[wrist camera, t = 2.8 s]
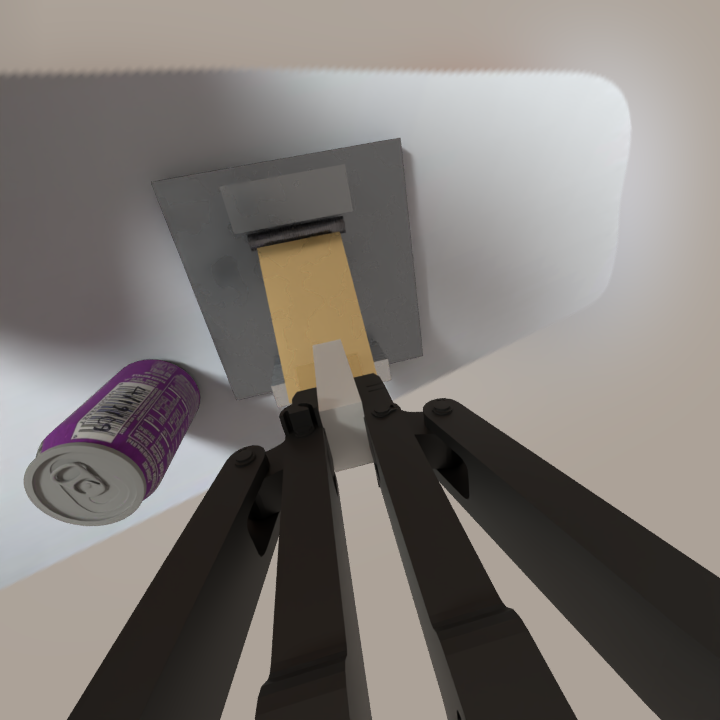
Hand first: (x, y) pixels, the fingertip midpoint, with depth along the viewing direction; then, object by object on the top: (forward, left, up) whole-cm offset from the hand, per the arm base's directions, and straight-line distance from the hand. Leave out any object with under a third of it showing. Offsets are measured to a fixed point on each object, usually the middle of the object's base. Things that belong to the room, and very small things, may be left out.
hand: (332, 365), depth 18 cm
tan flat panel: (-1, +1, -7) cm, 8 cm away
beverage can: (-8, -15, -14) cm, 21 cm away
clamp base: (-2, +1, -13) cm, 14 cm away
